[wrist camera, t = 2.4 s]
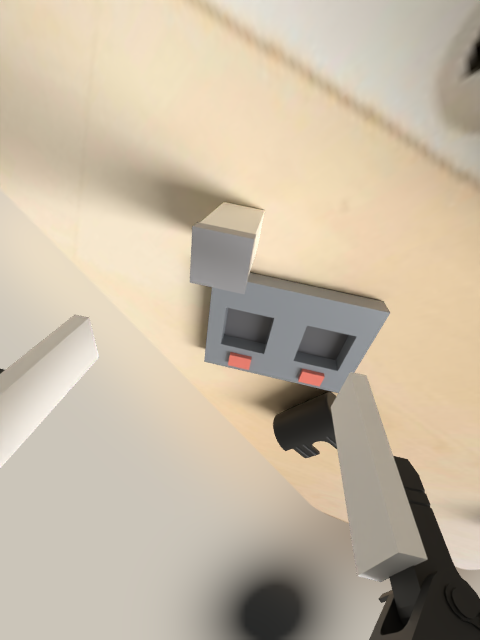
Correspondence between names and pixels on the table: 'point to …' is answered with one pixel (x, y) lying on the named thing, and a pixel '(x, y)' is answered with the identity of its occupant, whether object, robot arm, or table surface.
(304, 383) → the socket plate
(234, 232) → the plug
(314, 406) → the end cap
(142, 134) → the table surface
